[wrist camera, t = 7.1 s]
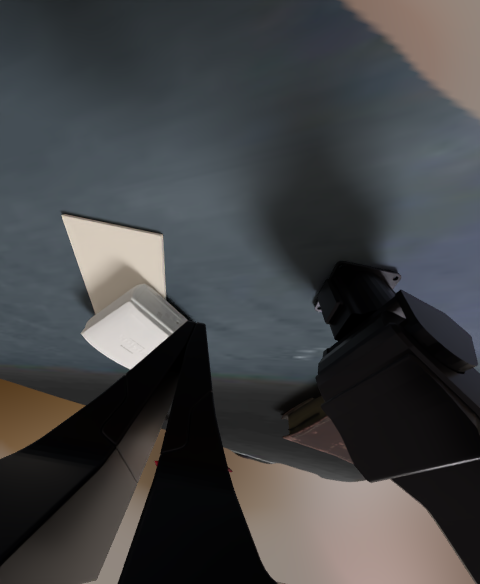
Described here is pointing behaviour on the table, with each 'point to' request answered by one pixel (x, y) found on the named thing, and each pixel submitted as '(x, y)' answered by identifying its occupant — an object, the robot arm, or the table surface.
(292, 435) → the diary
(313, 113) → the table surface
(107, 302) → the mat
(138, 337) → the photo printer
